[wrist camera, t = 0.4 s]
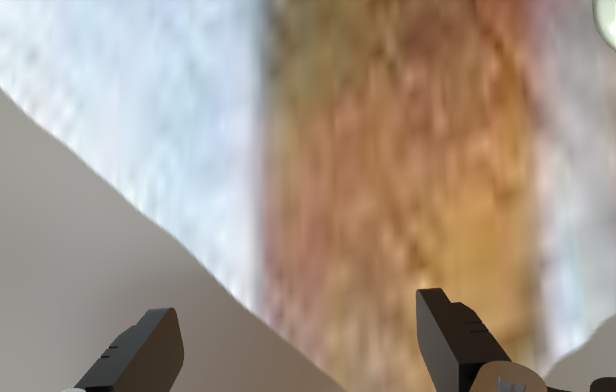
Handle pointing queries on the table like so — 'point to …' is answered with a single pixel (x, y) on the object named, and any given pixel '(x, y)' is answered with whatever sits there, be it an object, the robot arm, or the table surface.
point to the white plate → (606, 20)
